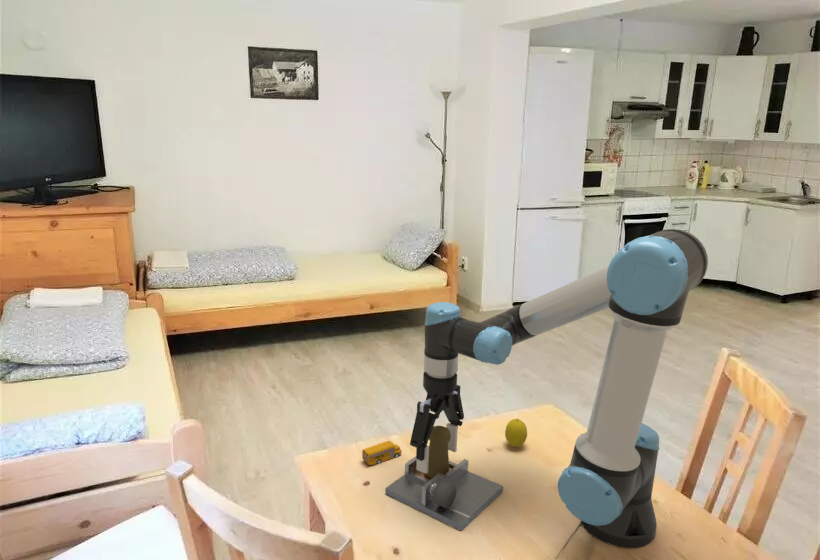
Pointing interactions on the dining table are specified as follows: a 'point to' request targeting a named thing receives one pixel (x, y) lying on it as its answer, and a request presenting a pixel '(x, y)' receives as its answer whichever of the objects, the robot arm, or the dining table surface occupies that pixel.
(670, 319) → the robot arm
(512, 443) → the lemon
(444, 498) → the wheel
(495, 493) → the plate
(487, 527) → the dining table surface
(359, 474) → the dining table surface
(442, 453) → the olive brown pawn
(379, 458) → the toy bus
